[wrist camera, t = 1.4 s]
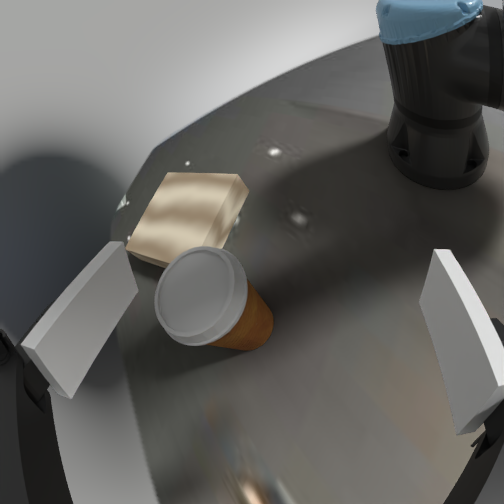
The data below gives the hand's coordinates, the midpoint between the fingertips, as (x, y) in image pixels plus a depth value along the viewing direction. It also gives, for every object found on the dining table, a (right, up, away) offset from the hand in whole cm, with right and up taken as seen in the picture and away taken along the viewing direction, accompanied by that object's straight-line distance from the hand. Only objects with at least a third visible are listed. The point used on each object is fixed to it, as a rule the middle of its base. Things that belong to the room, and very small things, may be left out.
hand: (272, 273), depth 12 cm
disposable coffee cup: (-1, -8, +24) cm, 25 cm away
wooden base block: (-10, +5, +36) cm, 38 cm away
